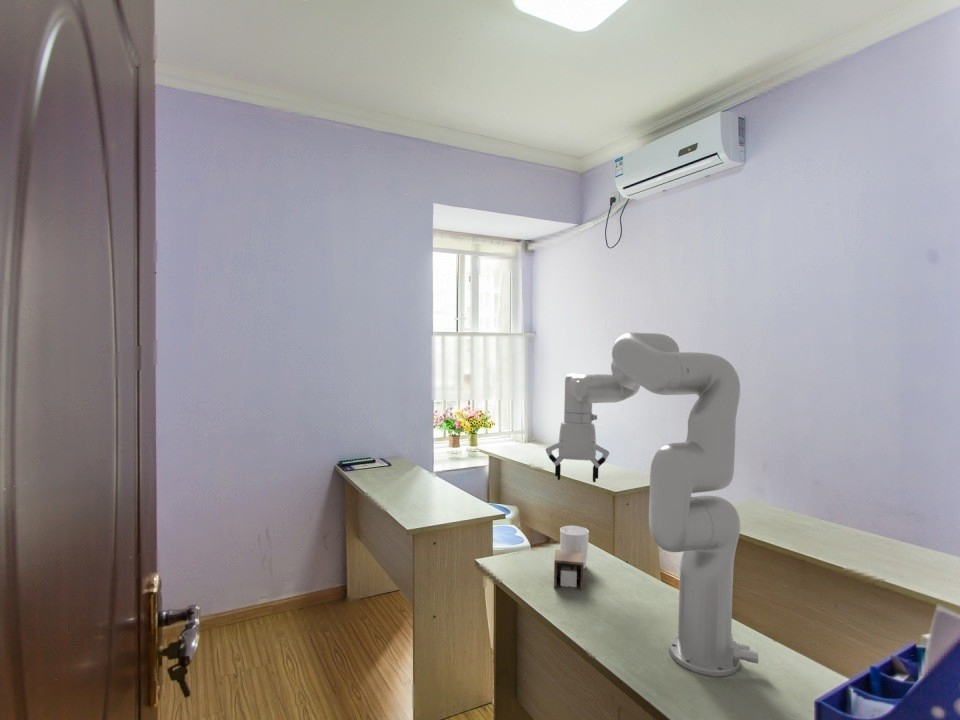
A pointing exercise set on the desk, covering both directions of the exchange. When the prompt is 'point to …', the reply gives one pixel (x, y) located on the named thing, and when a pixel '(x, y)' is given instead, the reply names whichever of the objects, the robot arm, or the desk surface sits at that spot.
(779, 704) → the desk surface
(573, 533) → the white cup
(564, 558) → the brown open box
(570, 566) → the cube
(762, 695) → the desk surface
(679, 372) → the robot arm
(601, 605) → the desk surface
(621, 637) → the desk surface
